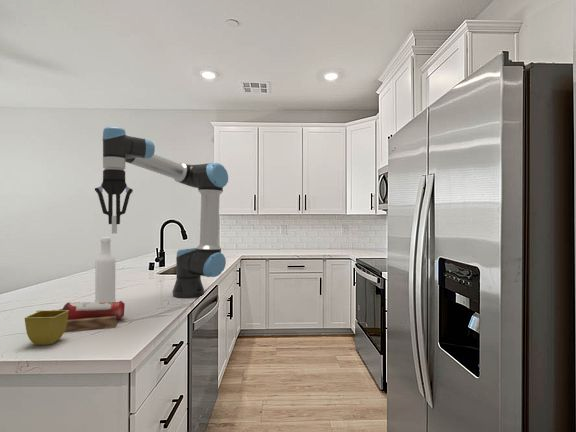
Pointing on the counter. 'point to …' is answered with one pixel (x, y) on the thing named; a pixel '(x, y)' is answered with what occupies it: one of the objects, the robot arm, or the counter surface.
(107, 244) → the bottle
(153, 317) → the counter surface
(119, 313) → the liquor
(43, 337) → the flower pot
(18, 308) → the counter surface
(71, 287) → the counter surface
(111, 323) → the rest
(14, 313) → the counter surface
